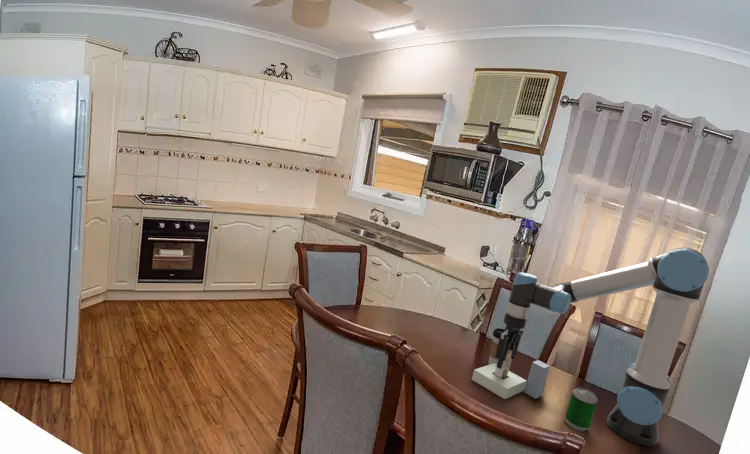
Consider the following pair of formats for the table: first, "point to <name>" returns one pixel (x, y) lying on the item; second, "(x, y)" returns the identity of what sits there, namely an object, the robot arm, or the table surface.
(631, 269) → the robot arm
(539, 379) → the square peg
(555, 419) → the table surface
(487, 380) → the socket block
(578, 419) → the soda can
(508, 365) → the oak dowel
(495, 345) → the coffee cup
